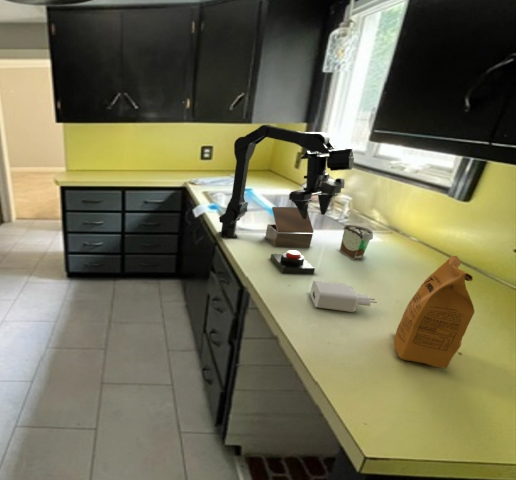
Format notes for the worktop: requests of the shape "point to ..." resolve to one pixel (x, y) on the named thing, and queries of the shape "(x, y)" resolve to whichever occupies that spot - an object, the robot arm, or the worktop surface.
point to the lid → (291, 220)
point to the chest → (287, 238)
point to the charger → (337, 296)
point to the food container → (355, 241)
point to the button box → (292, 264)
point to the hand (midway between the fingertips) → (313, 216)
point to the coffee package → (436, 317)
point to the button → (293, 254)
